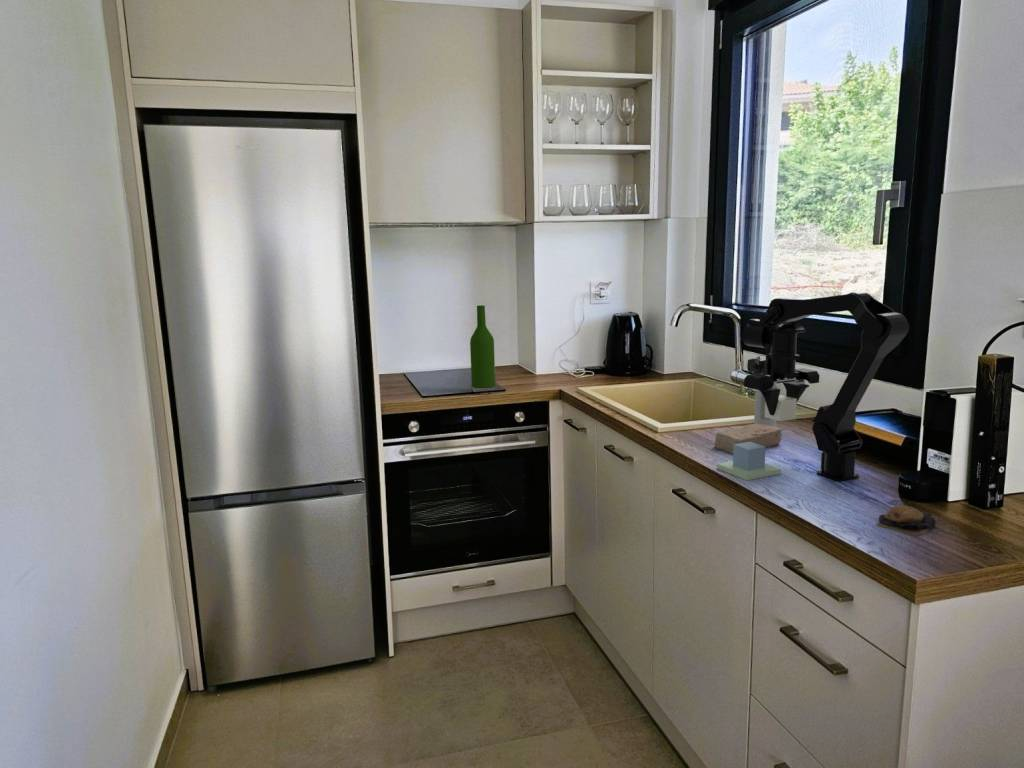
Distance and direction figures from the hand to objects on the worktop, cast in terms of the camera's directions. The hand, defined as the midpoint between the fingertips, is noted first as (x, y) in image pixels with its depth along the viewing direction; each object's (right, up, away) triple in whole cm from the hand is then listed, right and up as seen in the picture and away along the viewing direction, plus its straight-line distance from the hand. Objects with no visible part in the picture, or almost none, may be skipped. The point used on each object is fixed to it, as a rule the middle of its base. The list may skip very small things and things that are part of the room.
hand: (780, 413), depth 171 cm
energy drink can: (+7, -6, +30) cm, 31 cm away
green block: (-10, -13, -6) cm, 18 cm away
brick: (-3, -10, +15) cm, 18 cm away
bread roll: (+9, -20, -39) cm, 44 cm away
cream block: (0, -1, 0) cm, 1 cm away
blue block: (-10, -12, -7) cm, 17 cm away
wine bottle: (-76, +4, +94) cm, 121 cm away
